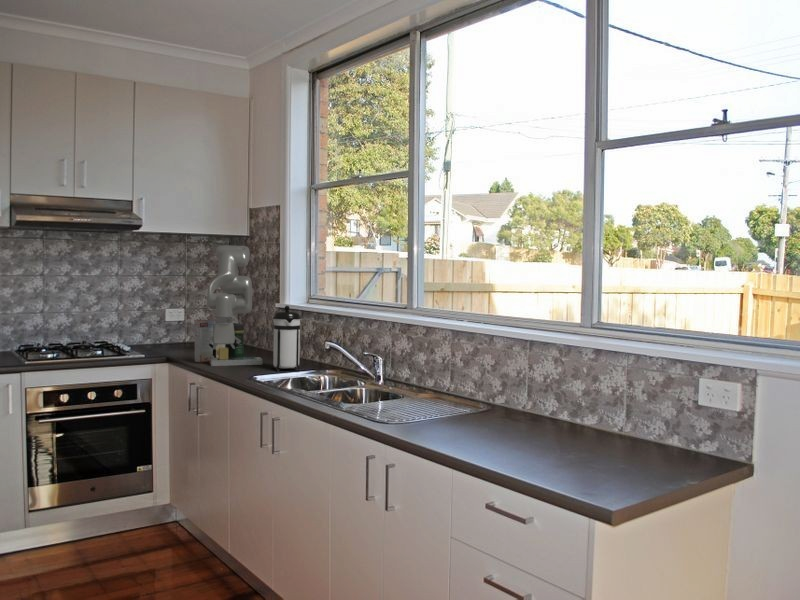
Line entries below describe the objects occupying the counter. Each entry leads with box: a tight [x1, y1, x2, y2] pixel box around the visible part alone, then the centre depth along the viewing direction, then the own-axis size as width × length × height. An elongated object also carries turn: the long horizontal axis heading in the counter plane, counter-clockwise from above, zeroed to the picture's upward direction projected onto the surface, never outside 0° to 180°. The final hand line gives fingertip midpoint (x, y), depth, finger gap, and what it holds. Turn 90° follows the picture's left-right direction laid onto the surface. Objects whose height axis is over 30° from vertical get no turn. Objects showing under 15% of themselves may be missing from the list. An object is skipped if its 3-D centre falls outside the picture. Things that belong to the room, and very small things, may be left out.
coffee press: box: [271, 305, 302, 371], centre depth 338 cm, size 17×16×30 cm
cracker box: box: [193, 318, 225, 363], centre depth 359 cm, size 14×6×21 cm, turn 135°
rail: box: [209, 356, 263, 367], centre depth 349 cm, size 8×24×3 cm, turn 110°
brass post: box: [219, 347, 228, 360], centre depth 347 cm, size 4×4×8 cm
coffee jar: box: [226, 323, 245, 358], centre depth 369 cm, size 10×8×19 cm
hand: (223, 357), depth 347 cm, fingers open, 7 cm apart
